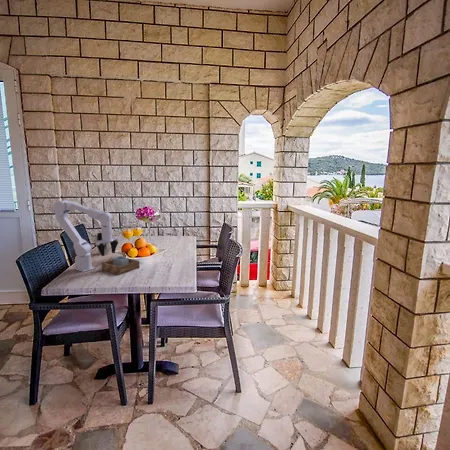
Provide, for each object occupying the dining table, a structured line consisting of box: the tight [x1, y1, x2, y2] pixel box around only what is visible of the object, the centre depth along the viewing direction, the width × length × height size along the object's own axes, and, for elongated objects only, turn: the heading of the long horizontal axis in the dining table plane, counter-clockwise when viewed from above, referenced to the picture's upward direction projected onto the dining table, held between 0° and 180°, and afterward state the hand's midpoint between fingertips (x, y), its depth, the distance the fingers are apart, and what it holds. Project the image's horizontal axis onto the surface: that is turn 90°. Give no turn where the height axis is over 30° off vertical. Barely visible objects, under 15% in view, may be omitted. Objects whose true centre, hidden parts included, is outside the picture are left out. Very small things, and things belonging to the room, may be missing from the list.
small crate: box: [112, 255, 129, 267], centre depth 180 cm, size 8×5×6 cm, turn 59°
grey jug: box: [96, 232, 115, 256], centre depth 213 cm, size 9×14×15 cm, turn 71°
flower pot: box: [120, 245, 136, 257], centre depth 200 cm, size 9×9×9 cm
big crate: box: [101, 258, 140, 275], centre depth 180 cm, size 16×15×4 cm
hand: (108, 254), depth 179 cm, fingers open, 7 cm apart
